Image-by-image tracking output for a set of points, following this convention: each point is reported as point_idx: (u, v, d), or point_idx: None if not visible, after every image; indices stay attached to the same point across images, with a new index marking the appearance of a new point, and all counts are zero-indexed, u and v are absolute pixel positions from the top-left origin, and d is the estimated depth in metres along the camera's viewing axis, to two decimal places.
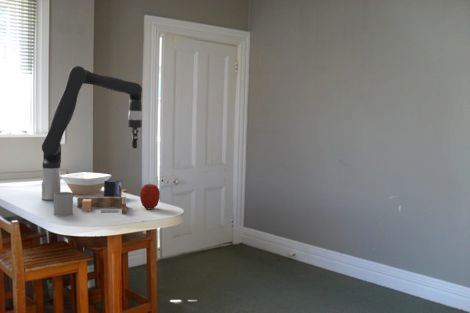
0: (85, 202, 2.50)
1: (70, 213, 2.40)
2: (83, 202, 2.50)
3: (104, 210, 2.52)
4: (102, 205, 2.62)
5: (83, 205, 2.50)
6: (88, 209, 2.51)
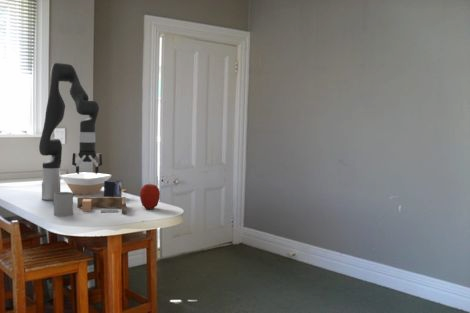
0: (85, 202, 2.50)
1: (70, 213, 2.40)
2: (83, 202, 2.50)
3: (104, 210, 2.52)
4: (102, 205, 2.62)
5: (83, 205, 2.50)
6: (88, 209, 2.51)
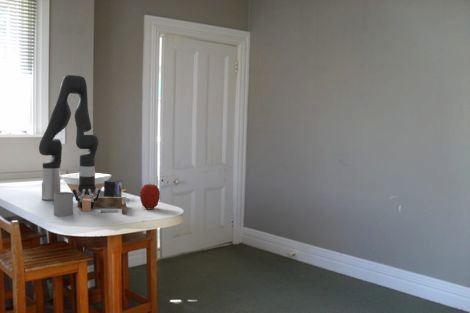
0: (85, 202, 2.50)
1: (70, 213, 2.40)
2: (83, 202, 2.50)
3: (104, 210, 2.52)
4: (102, 205, 2.62)
5: (83, 205, 2.50)
6: (88, 209, 2.51)
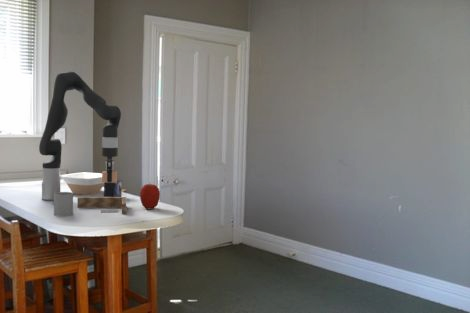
0: None
1: (70, 213, 2.40)
2: None
3: (104, 210, 2.52)
4: (102, 205, 2.62)
5: (116, 176, 2.50)
6: None
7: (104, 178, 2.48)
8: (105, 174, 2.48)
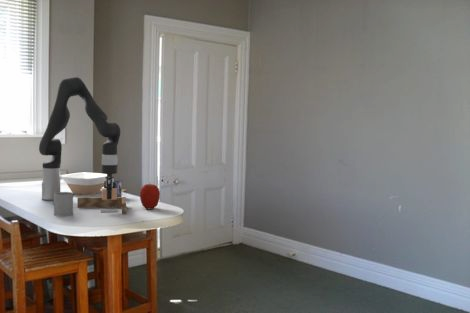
0: (116, 190, 2.51)
1: (70, 213, 2.40)
2: (116, 190, 2.50)
3: (104, 210, 2.52)
4: (102, 205, 2.62)
5: (116, 193, 2.50)
6: None
7: (104, 195, 2.48)
8: (104, 192, 2.48)
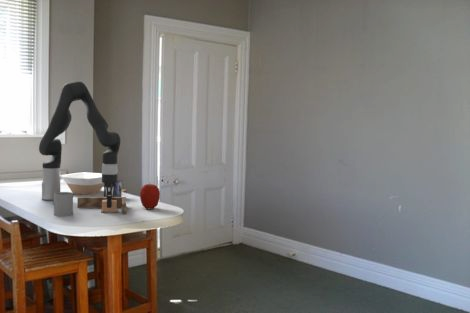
0: (116, 202, 2.52)
1: (70, 213, 2.40)
2: (116, 202, 2.51)
3: None
4: None
5: (116, 205, 2.51)
6: None
7: (104, 207, 2.49)
8: (104, 204, 2.49)
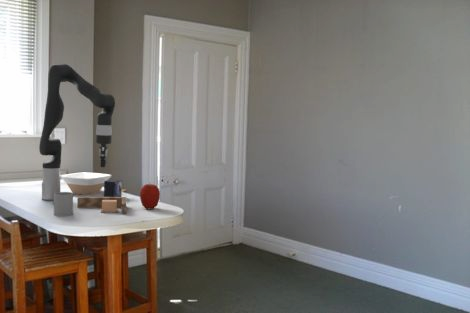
0: (116, 202, 2.52)
1: (70, 213, 2.40)
2: (116, 202, 2.51)
3: None
4: None
5: (116, 205, 2.51)
6: None
7: (104, 207, 2.49)
8: (104, 204, 2.49)
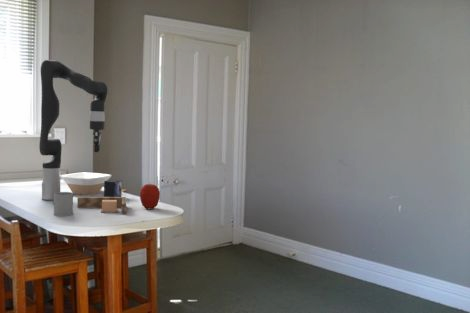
0: (116, 202, 2.52)
1: (70, 213, 2.40)
2: (116, 202, 2.51)
3: None
4: None
5: (116, 205, 2.51)
6: None
7: (104, 207, 2.49)
8: (104, 204, 2.49)
